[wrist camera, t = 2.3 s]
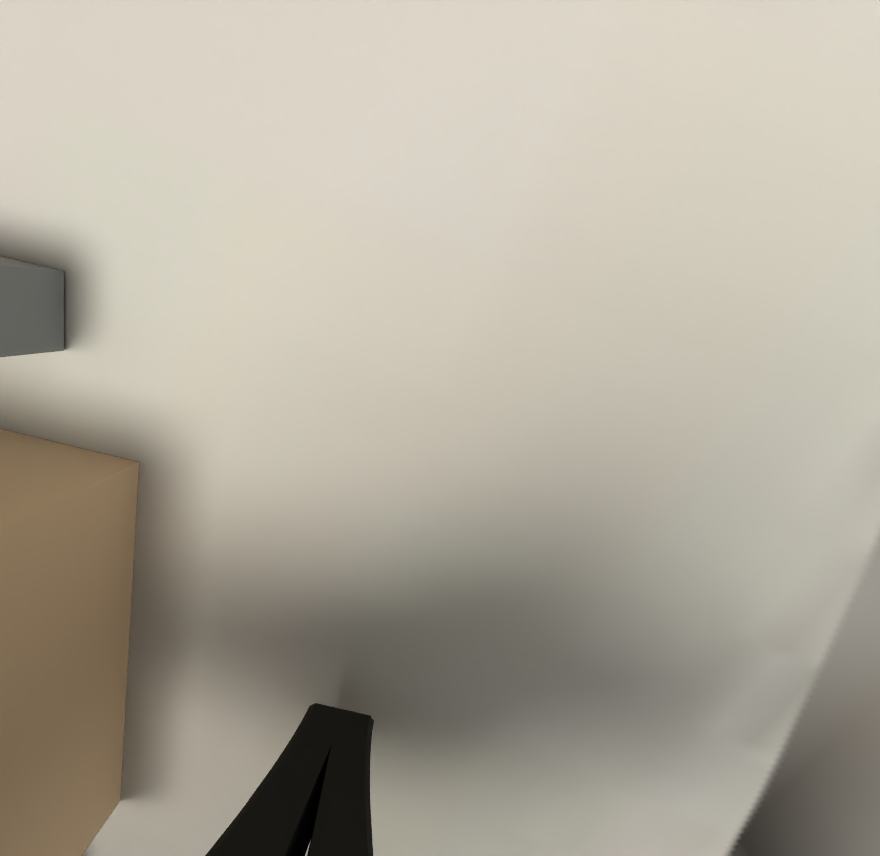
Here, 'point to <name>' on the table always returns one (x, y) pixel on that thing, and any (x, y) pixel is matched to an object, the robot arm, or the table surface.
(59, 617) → the carton
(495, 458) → the table surface
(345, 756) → the robot arm
